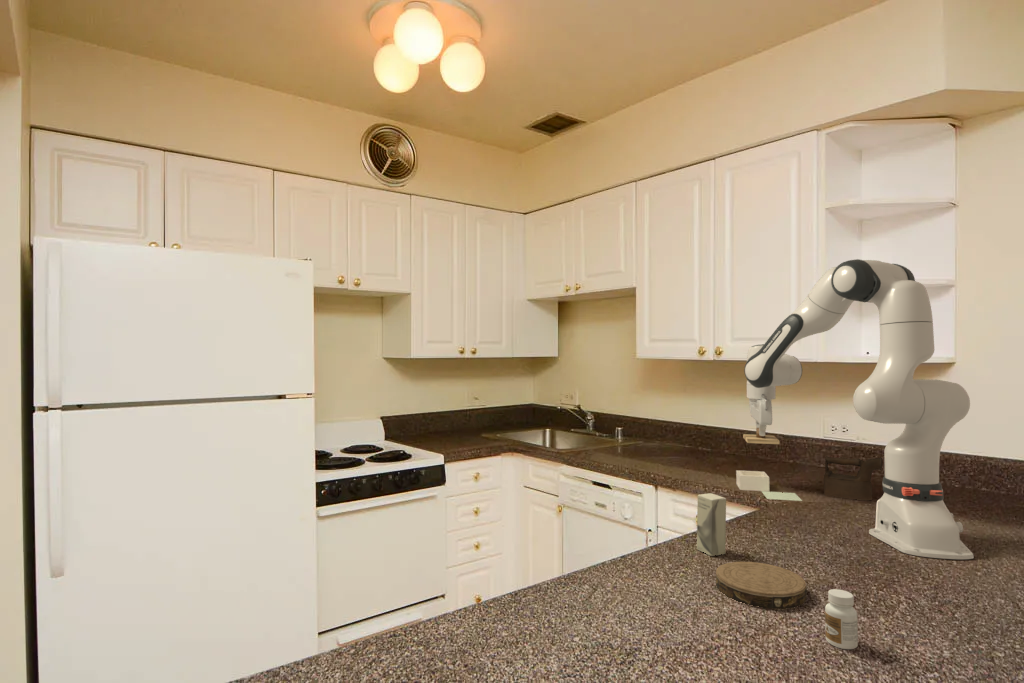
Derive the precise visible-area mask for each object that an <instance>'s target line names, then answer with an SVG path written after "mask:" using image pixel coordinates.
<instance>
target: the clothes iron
mask: <svg viewBox="0 0 1024 683" xmlns="http://www.w3.org/2000/svg"><path fill="white" fill-rule="evenodd" d="M824 462H825V463H824V464H825V465H824V466H825V467H824V474H823V495H824V496H827V497H828V496H829V497H834V498H835V497H836V498H842V499H843V498H844V499H850V500H851V499H857V500H856V501H872V500H873V489H872V488H873V487H872V481H871V480H872V475H873V472H874V471H877V470H878V471H882V469H883V465H884V463H883V458H882V457H875V458H873V457H872V458H868V459H865V460H862V459H860V458H847V457H841V456H839V457H833V456H828V455H827V456H824ZM829 464H835V465H840V466H855V467H859V469H858V471H857V475H856V476H855V475H849V474H843V473H835V472H833V471H832V470H830V469H829Z"/></svg>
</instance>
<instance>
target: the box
mask: <svg viewBox="0 0 1024 683" xmlns="http://www.w3.org/2000/svg"><path fill="white" fill-rule="evenodd" d="M696 505H697V506H696V507H697V508H696V509H697V510H696V511H697V512H696V514H697V515H696V516H697V518H696V525H697V526H696V550H698V551H699V552H702V553H703V552H704V553H703V554H705V553H706V555H708V556H711V557H715V555H716V556H722V555H725V554H726V545H727V544H726V540H727V539H726V536H727V534H726V533H727V526H726V525H727V524H726V523H727V520H726V519H727V498H726V497H723V496H720V495H717V494H715V493H712V492H711V493H702V494H698V495H697V504H696ZM721 554H722V555H721Z"/></svg>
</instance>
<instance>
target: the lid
mask: <svg viewBox="0 0 1024 683" xmlns="http://www.w3.org/2000/svg"><path fill="white" fill-rule="evenodd" d="M755 430H756V431H755V433H756V434H746V433H743V435H742V436H743V437H742V438H743V440H745V442H746V443H747V444H761V445H762V444H764V445H766V444H767V445H780V440H779V439H778V438H777V437H776V436H775V435H774V434H773V435H771V434H769V435H768V434H765V436H760V435H759V428H755Z"/></svg>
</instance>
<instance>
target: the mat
mask: <svg viewBox="0 0 1024 683" xmlns="http://www.w3.org/2000/svg"><path fill="white" fill-rule="evenodd" d="M761 493H762V494H763V496H764V497H765V498H766V499H767V500H777V501H778V500H781V501H796V502H802V501H803V499H801V498H800V497H799V496H798V494H797V493H796V492H783V493H782V491H781V492H780V491H761Z"/></svg>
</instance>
